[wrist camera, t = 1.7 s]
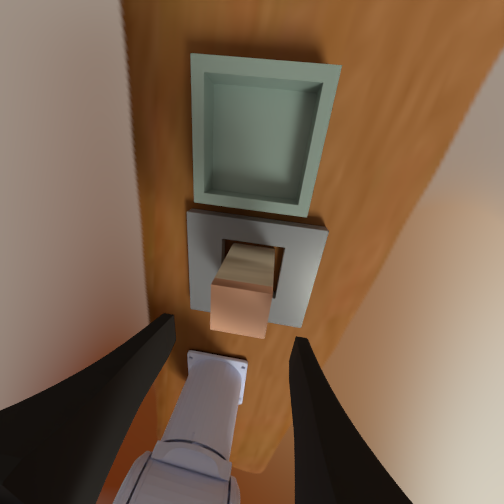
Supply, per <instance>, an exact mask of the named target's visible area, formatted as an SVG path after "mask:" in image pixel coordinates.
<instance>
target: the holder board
mask: <svg viewBox="0 0 504 504" xmlns="http://www.w3.org/2000/svg"><path fill="white" fill-rule="evenodd" d="M187 232H188V257H189V281H190V306H191V309H194V310H200V311H206V312H211V283H212V281H213V280H214V278H215V276H216V274H217V272H218V270H219V269H220V267H221V265H222V263H223V261H224V257H225V239H229V240H236V241H242V242H249V243H256V244H263V245H270V246H277V247H284V250H283V255H282V261H281V266H280V271H279V276H278V281H277V287H276V292H275V291H273V296H272V301H271V307H270V312H269V317H268V322H270V323H275V324H281V325H287V326H293V327H299V328H301V326H302V323H303V319H304V316H305V312H306V309H307V305H308V302H309V298H310V295H311V291H312V288H313V284H314V281H315V278H316V274H317V271H318V267H319V264H320V260H321V257H322V253H323V250H324V246H325V243H326V239H327V236H328V232H329V231H328V229H327V228H326V227H324V226H317V225H310V224H302V223H295V222H288V221H280V220H273V219H266V218H258V217H251V216H244V215H236V214H229V213H222V212H214V211H207V210H200V209H190V210H189V211H187Z"/></svg>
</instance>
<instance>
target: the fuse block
mask: <svg viewBox="0 0 504 504" xmlns="http://www.w3.org/2000/svg"><path fill="white" fill-rule="evenodd" d="M274 259H275V249H273V248H266V247H259V246H252V245H245V244H239V243H233V245H232V246H231V248H230V250H229V252H228V254H227V256H226V258H225V259H224V261H223V263H222V265H221V267H220V269H219V270H218V272H217V274H216V276H215V278H214V280H213V281H212V283H211V312H210V329H211V330H217V331H222V332H228V333H233V334H239V335H245V336H250V337H256V338H262V339H265V334H266V328H267V323H268V317H269V312H270V307H271V301H272V296H273V279H274Z"/></svg>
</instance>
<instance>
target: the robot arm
mask: <svg viewBox="0 0 504 504" xmlns="http://www.w3.org/2000/svg"><path fill="white" fill-rule="evenodd" d="M175 341H176V333H175V322H174V315H171V314H166V313H164V314H162V315H161V316H160V317H158V318H157V319H156V320H154V321H153V322H152V323H150V324H149V325H148V326H147V327H145V328H144V329H143V330H141V331H140V332H139V333H137V334H136V335H135V336H133V337H132V338H131V339H129V340H128V341H127V342H125V343H124V344H122V345H121V346H119V347H118V348H116V349H115V350H114V351H112V352H111V353H109V354H108V355H106V356H105V357H103V358H102V359H100V360H98V361H97V362H95V363H93V364H92V365H90V366H88V367H87V368H85V369H84V370H82V371H80V372H78V373H76V374H75V375H73V376H71V377H69V378H67V379H65V380H63V381H61V382H60V383H58V384H56V385H54V386H52V387H50V388H48V389H46V390H44V391H42V392H40V393H38V394H36V395H34V396H32V397H30V398H27V399H25V400H23V401H21V402H19V403H17V404H15V405H12V406H10V407H8V408H5V409H3V410H1V411H0V504H96V501H97V499H98V497H99V494H100V492H101V489H102V487H103V485H104V482H105V480H106V477H107V475H108V473H109V471H110V468H111V466H112V464H113V462H114V460H115V457H116V455H117V453H118V451H119V448H120V446H121V444H122V442H123V440H124V438H125V435H126V433H127V431H128V429H129V427H130V425H131V423H132V421H133V419H134V417H135V415H136V412H137V411H138V408H139V406H140V404H141V402H142V401H143V399H144V397H145V396H146V394H147V392H148V391H149V389H150V387H151V385H152V384H153V382H154V380H155V379H156V377H157V375H158V374H159V372H160V370H161V369H162V367H163V365H164V363H165V362H166V360H167V358H168V356H169V354H170V352H171V350H172V348H173V345H174V343H175ZM187 358H188V378H187V380H186V382H185V385H184V387H183V390H182V392H181V394H180V397H179V399H178V401H177V404H176V406H175V409H174V411H173V413H172V416H171V418H170V420H169V423H168V425H167V428H166V430H165V432H164V435H163V437H162V439H161V441H157V443H156V446H155V448H154V450H153V452H150V451H146V452H145V453H144V454H143V455H141V456H140V457H139V458H138V459H137V460H136V461H135V462H134V464H133V465H132V467H131V469H130V470H129V472H128V474H127V476H126V478H125V479H124V481H123V483H122V485H121V487H120V490H119V491H118V493H117V496H116V498H115V500H114V502H113V504H240V490H239V487H238V485H237V481H236V478H235V477H233V476H230V473H231V467H232V463H231V462H229V457H230V451H231V445H232V439H233V433H234V427H235V421H236V415H237V409H238V404H242V400H243V393H244V386H245V379H246V372H247V365H248V362H247V361H246V360H242V359H236V358H231V357H225V356H220V355H215V354H209V353H204V352H199V351H193V350H189V351H188V353H187ZM289 384H290V395H291V406H292V416H293V427H294V447H295V448H294V450H295V504H413V503H412V502H411V501H410V500H409V498H408V497H407V496H406V495H405V494H404V492H403V491H402V490H401V489H400V487H399V486H398V485H397V484H396V482H395V481H394V480H393V478H392V477H391V476H390V475H389V473H388V472H387V471H386V470H385V468H384V467H383V466H382V464H381V463H380V462H379V460H378V459H377V457H376V456H375V455H374V453H373V452H372V451H371V449H370V448H369V447H368V445H367V444H366V442H365V441H364V440H363V438H362V437H361V435H360V434H359V432H358V431H357V429H356V428H355V426H354V425H353V423H352V422H351V420H350V419H349V417H348V416H347V414H346V413H345V411H344V409H343V408H342V406H341V405H340V403H339V401H338V399H337V398H336V396H335V394H334V392H333V391H332V389H331V387H330V385H329V383H328V381H327V379H326V378H325V376H324V374H323V372H322V370H321V368H320V366H319V364H318V361H317V359H316V357H315V355H314V353H313V350H312V348H311V346H310V343H309V341H308V339H307V338H302V337H297V336H296V338H295V342H294V345H293V349H292V352H291V356H290V360H289Z"/></svg>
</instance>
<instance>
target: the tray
mask: <svg viewBox="0 0 504 504" xmlns="http://www.w3.org/2000/svg"><path fill="white" fill-rule="evenodd" d="M190 55H191V97H192V139H193V181H194V202H195V203H202V204H210V205H217V206H225V207H232V208H240V209H247V210H254V211H262V212H269V213H277V214H284V215H292V216H299V217H307V215H308V211H309V206H310V202H311V198H312V193H313V189H314V185H315V180H316V176H317V172H318V167H319V163H320V159H321V154H322V150H323V146H324V141H325V137H326V133H327V128H328V124H329V120H330V115H331V111H332V106H333V102H334V98H335V93H336V89H337V85H338V80H339V76H340V72H341V67H342V65H331V64H319V63H307V62H295V61H282V60H270V59H258V58H245V57H233V56H221V55H208V54H196V53H190Z"/></svg>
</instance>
